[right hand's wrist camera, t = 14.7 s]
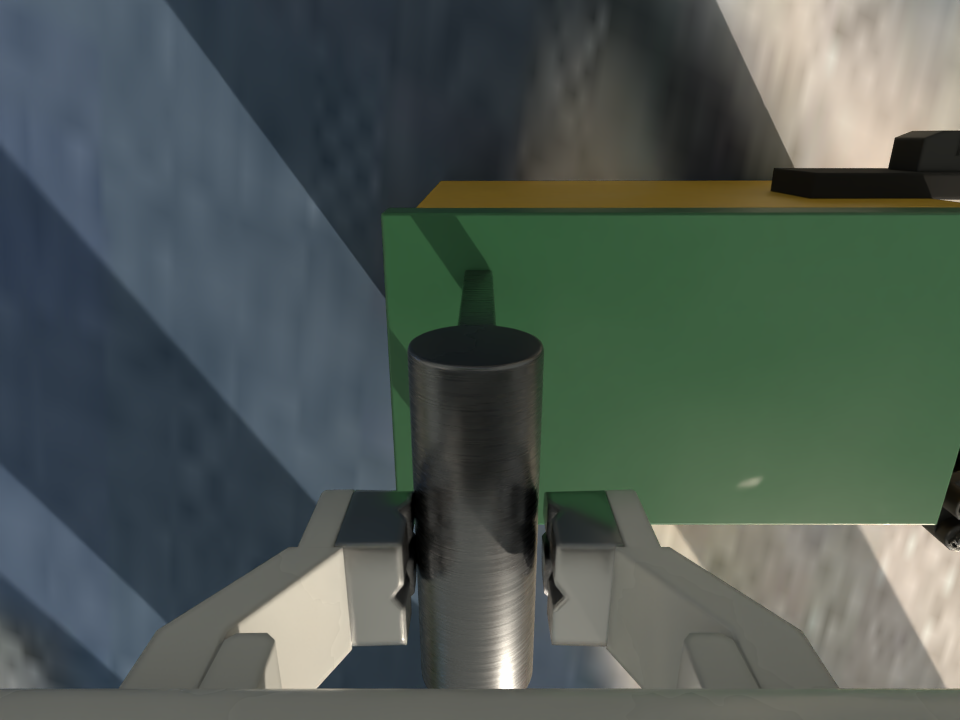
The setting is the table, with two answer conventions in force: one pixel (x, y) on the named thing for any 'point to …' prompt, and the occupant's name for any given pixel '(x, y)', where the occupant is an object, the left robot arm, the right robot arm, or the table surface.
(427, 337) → the lid
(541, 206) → the chest
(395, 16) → the table surface
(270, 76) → the table surface
